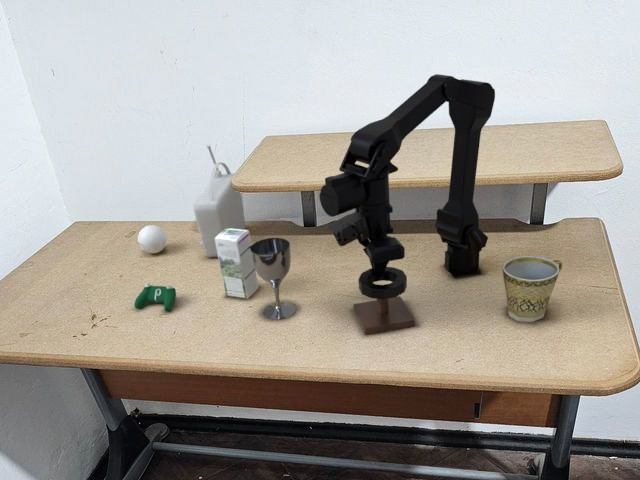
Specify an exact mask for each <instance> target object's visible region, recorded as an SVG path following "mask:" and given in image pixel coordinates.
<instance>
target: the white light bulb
mask: <svg viewBox="0 0 640 480" xmlns="http://www.w3.org/2000/svg"><path fill="white" fill-rule="evenodd" d="M166 235H167V234H166V232H165V231H164V230H163V228H161V227H160V226H158V225H155V224H154V225H153V224H148V225H146V226H144V227H143V228H142V229H140V231H139V233H138V236H137V244H138V245H139V247H140V249H142V250H143V251H144V252H145V253H148V254H158V253H160V252H162V251H163V250H164V249H165V247H166V245H167V240H168V239H167V236H166ZM133 241H135V239H132V240H131V242H133ZM128 242H129V243H130V240H127V243H128Z"/></svg>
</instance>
